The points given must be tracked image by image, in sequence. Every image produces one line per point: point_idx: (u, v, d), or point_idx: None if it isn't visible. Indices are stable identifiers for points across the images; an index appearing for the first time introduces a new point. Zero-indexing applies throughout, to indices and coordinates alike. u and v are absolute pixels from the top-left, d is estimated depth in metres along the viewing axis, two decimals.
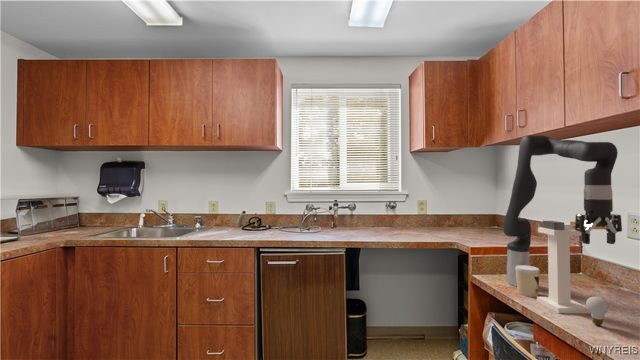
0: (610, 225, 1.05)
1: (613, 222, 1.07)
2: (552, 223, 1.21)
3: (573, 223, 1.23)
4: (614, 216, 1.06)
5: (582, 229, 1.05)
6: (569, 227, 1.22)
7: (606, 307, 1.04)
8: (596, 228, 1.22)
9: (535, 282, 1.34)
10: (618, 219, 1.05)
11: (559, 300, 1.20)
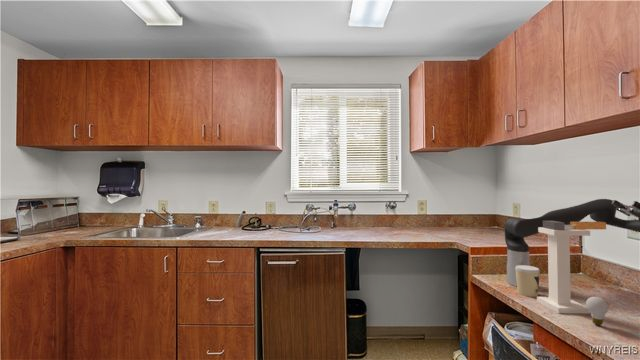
0: (629, 213, 1.25)
1: (626, 209, 1.28)
2: (552, 223, 1.21)
3: (573, 223, 1.23)
4: None
5: None
6: (569, 227, 1.22)
7: (606, 307, 1.04)
8: (596, 228, 1.22)
9: (535, 282, 1.34)
10: (626, 214, 1.28)
11: (559, 300, 1.20)
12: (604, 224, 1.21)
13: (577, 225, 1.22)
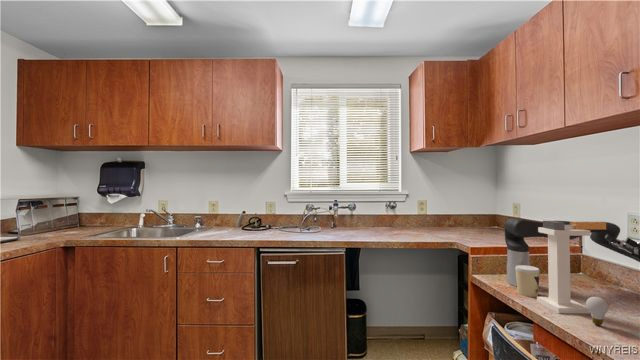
0: (622, 248, 1.25)
1: (619, 243, 1.28)
2: (552, 223, 1.21)
3: (573, 223, 1.23)
4: (623, 248, 1.28)
5: None
6: (569, 227, 1.22)
7: (606, 307, 1.04)
8: (596, 228, 1.22)
9: (535, 282, 1.34)
10: (619, 248, 1.28)
11: (559, 300, 1.20)
12: (604, 224, 1.21)
13: (577, 225, 1.22)
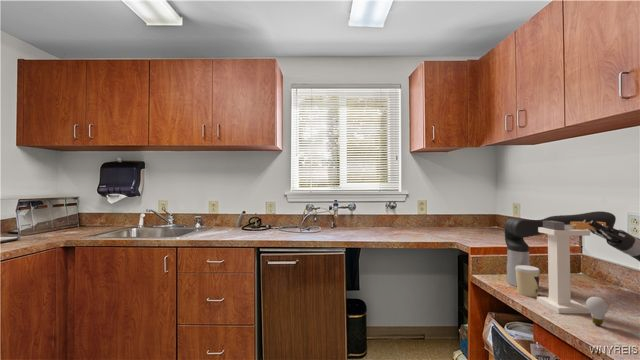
0: (598, 233, 1.24)
1: None
2: (552, 223, 1.21)
3: (573, 223, 1.23)
4: None
5: (606, 232, 1.19)
6: (569, 227, 1.22)
7: (606, 307, 1.04)
8: None
9: (535, 282, 1.34)
10: (593, 232, 1.28)
11: (559, 300, 1.20)
12: (604, 224, 1.21)
13: (577, 225, 1.22)
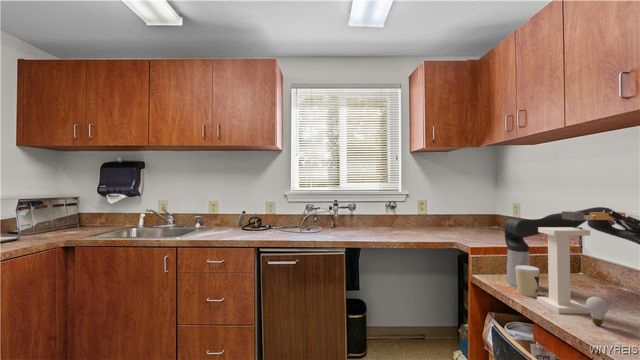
0: (617, 224, 1.24)
1: None
2: (572, 213, 1.21)
3: (593, 214, 1.23)
4: None
5: (626, 222, 1.19)
6: (589, 217, 1.22)
7: (606, 307, 1.04)
8: None
9: (535, 282, 1.34)
10: (612, 223, 1.28)
11: (559, 300, 1.20)
12: (624, 214, 1.21)
13: (597, 215, 1.22)
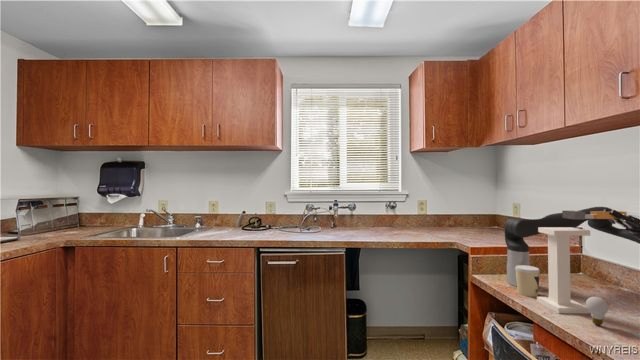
0: (618, 223, 1.24)
1: None
2: (573, 212, 1.21)
3: (594, 213, 1.23)
4: None
5: (627, 221, 1.19)
6: (589, 217, 1.22)
7: (606, 307, 1.04)
8: None
9: (535, 282, 1.34)
10: (613, 222, 1.28)
11: (559, 300, 1.20)
12: (625, 213, 1.21)
13: (597, 214, 1.22)
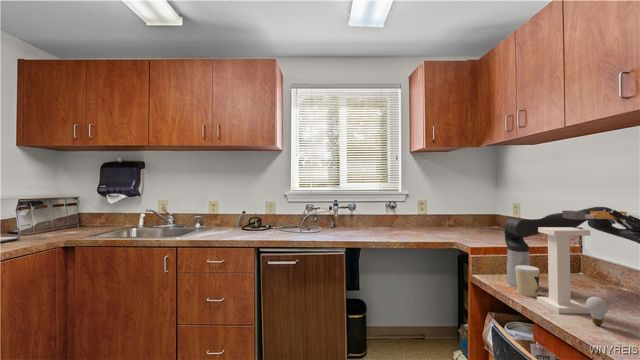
0: (618, 223, 1.24)
1: None
2: (573, 212, 1.21)
3: (594, 213, 1.23)
4: None
5: (627, 221, 1.19)
6: (589, 217, 1.22)
7: (606, 307, 1.04)
8: None
9: (535, 282, 1.34)
10: (613, 222, 1.28)
11: (559, 300, 1.20)
12: (625, 213, 1.21)
13: (597, 214, 1.22)
